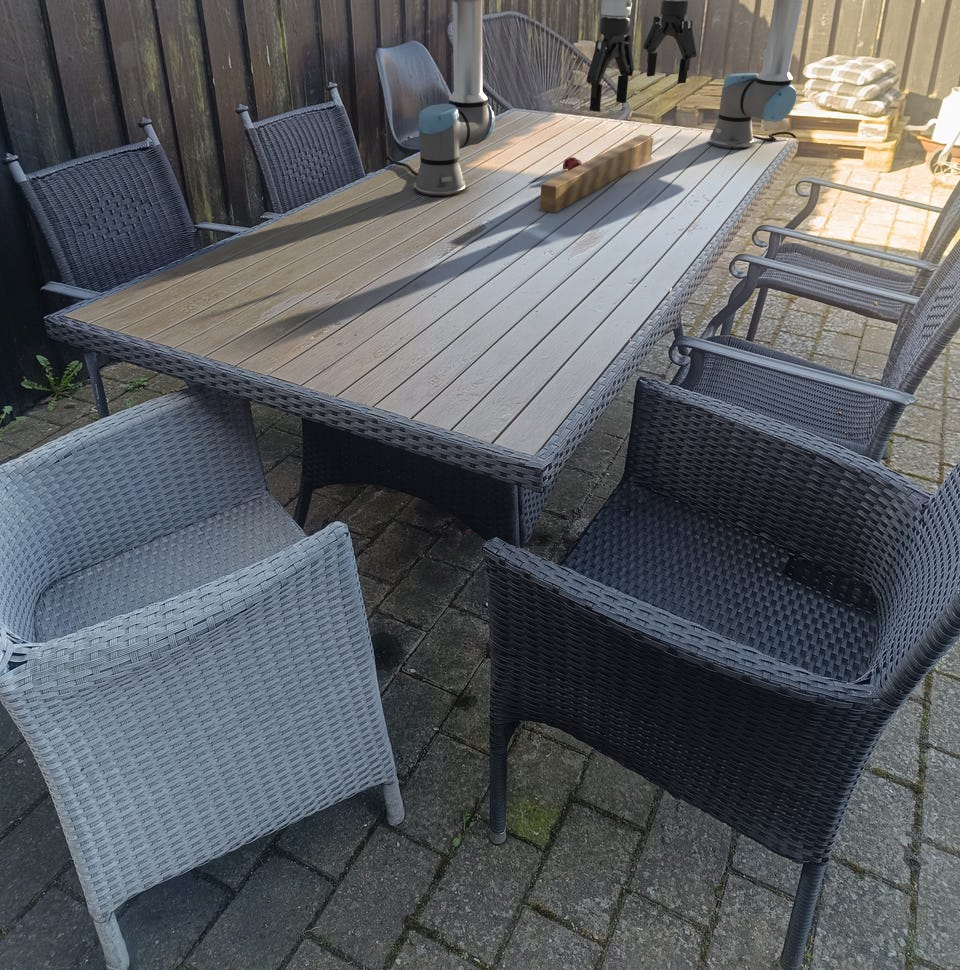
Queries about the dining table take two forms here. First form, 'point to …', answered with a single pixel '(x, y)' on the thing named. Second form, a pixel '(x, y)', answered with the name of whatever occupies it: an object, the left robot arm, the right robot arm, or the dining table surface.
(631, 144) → the bar
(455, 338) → the dining table surface
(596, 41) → the left robot arm
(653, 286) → the dining table surface
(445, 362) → the dining table surface
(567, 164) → the dark red lumpy piece
